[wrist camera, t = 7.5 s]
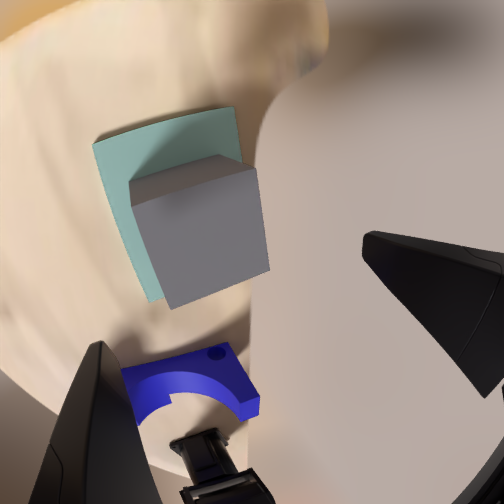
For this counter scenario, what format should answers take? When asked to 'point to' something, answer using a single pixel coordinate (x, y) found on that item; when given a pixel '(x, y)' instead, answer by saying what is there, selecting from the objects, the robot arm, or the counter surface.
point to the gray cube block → (201, 226)
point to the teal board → (159, 169)
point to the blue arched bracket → (192, 381)
